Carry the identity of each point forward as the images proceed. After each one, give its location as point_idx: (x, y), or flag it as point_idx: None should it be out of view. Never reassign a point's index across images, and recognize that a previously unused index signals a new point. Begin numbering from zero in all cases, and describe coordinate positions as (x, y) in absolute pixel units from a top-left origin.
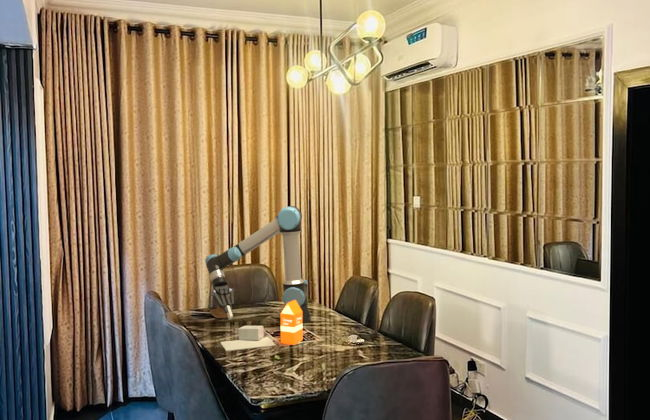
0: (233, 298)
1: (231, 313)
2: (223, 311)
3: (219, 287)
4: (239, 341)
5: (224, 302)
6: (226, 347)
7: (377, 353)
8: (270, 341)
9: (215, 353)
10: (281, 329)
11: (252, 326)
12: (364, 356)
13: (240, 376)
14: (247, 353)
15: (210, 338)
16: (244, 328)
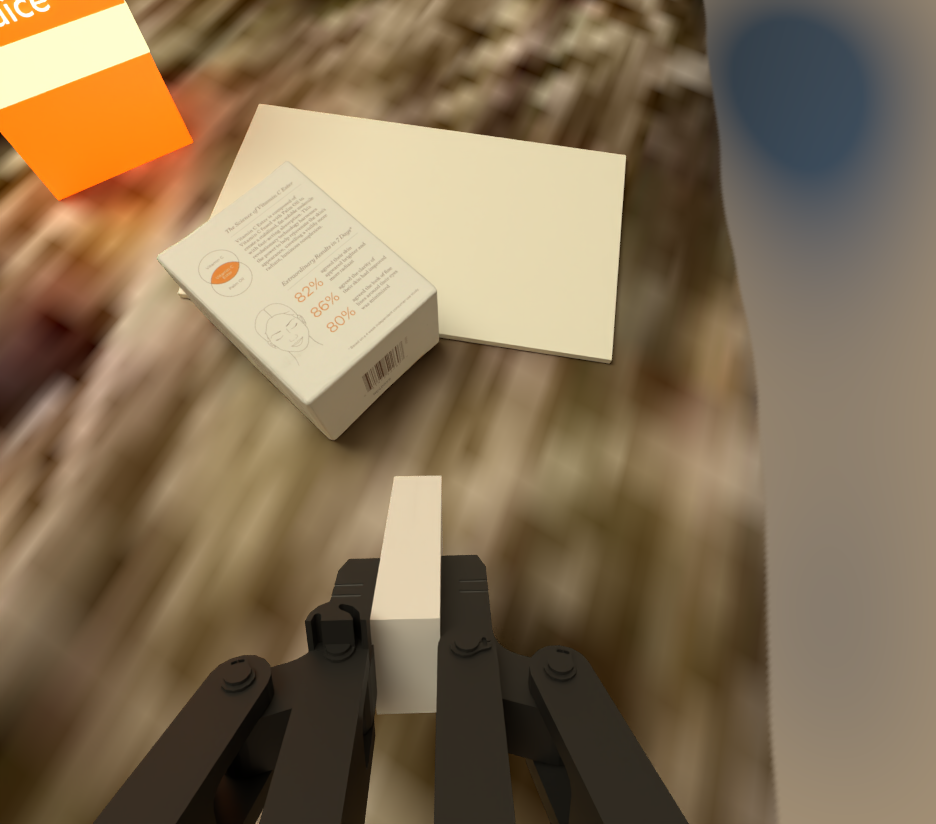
0: (105, 818)
1: (401, 502)
2: None
3: None
4: (455, 294)
5: (469, 709)
6: (604, 209)
7: None
8: (242, 182)
9: (704, 158)
10: (139, 32)
11: (262, 297)
12: None
13: None
14: (507, 73)
15: (663, 548)
16: (382, 254)
